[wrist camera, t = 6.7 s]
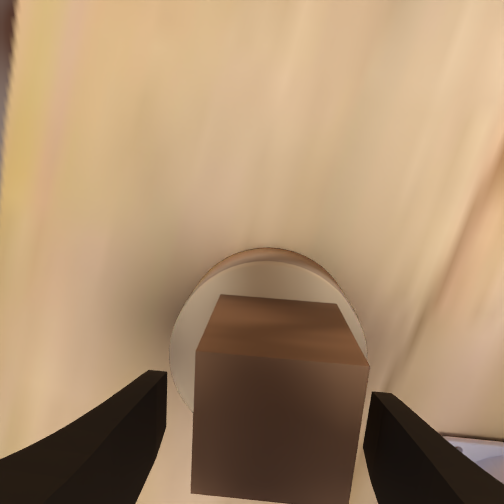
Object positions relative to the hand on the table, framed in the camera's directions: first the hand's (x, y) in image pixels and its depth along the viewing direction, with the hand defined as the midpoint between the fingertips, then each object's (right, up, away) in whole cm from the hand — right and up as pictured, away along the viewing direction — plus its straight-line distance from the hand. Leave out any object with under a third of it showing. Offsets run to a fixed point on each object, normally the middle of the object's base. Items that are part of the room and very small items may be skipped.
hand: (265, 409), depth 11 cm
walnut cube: (0, +1, +3) cm, 3 cm away
